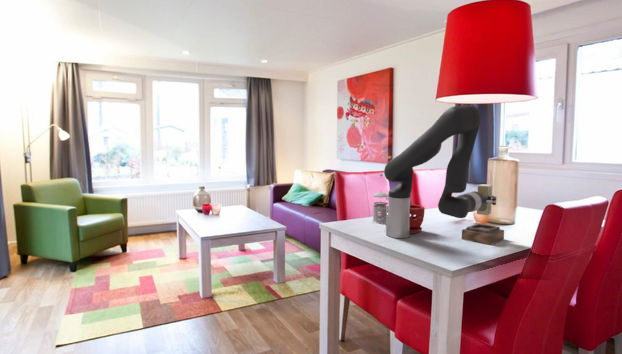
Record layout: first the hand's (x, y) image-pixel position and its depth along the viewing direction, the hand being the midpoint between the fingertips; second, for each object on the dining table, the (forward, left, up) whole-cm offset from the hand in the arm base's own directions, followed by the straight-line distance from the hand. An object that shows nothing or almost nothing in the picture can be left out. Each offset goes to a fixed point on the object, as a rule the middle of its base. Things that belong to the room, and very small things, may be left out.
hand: (486, 197), depth 160 cm
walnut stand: (0, -3, -17) cm, 18 cm away
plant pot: (-29, -14, -18) cm, 36 cm away
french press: (-51, -6, -18) cm, 54 cm away
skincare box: (0, -3, -7) cm, 7 cm away
